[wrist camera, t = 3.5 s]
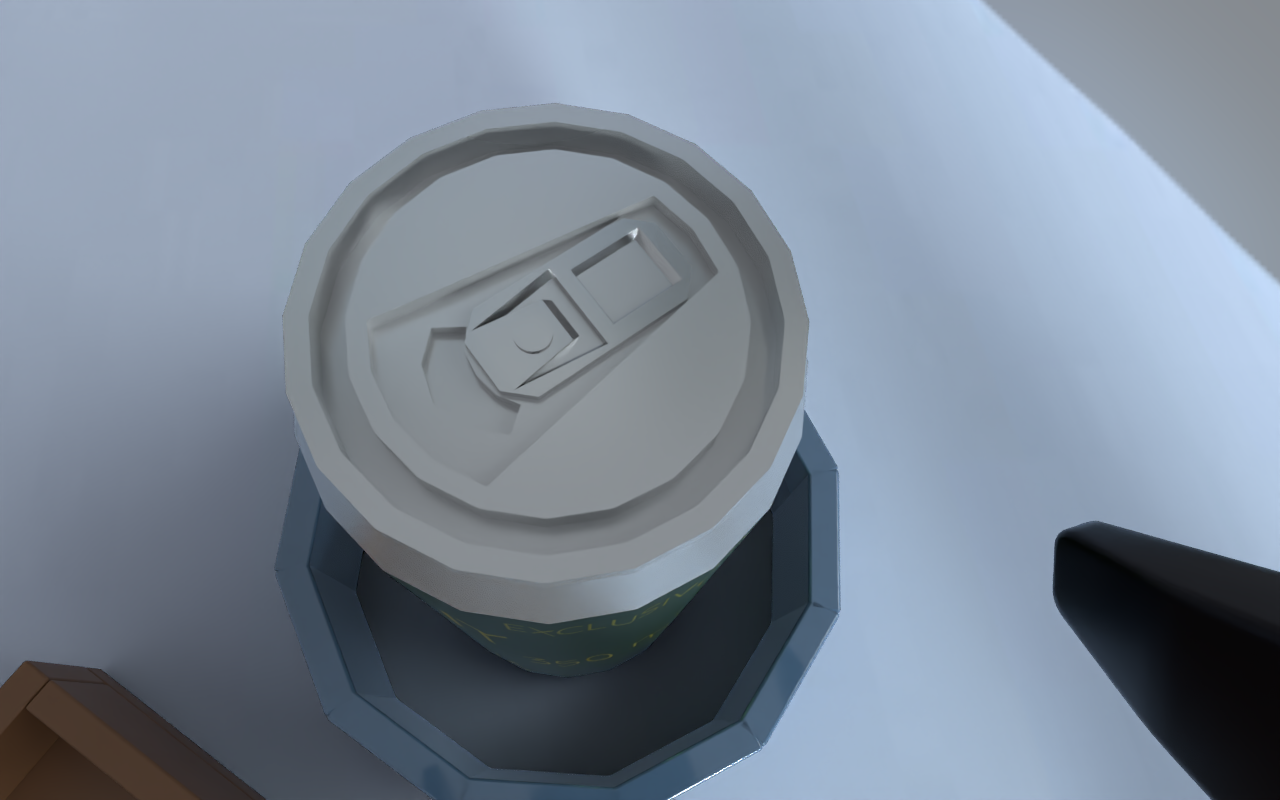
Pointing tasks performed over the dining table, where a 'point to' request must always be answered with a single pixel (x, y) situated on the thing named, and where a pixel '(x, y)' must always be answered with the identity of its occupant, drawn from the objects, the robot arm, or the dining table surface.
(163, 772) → the tray
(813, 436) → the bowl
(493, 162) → the beer can
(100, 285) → the dining table surface
